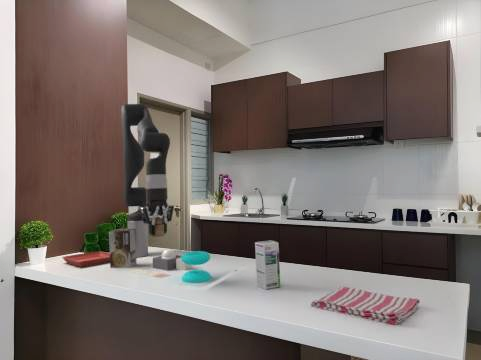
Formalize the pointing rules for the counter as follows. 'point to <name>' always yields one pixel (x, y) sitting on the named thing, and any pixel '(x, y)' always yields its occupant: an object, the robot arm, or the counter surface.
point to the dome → (168, 254)
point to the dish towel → (368, 305)
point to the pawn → (159, 227)
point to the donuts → (196, 259)
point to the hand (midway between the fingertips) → (158, 234)
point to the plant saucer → (88, 259)
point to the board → (160, 266)
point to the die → (181, 265)
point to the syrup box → (267, 264)
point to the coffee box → (122, 248)
